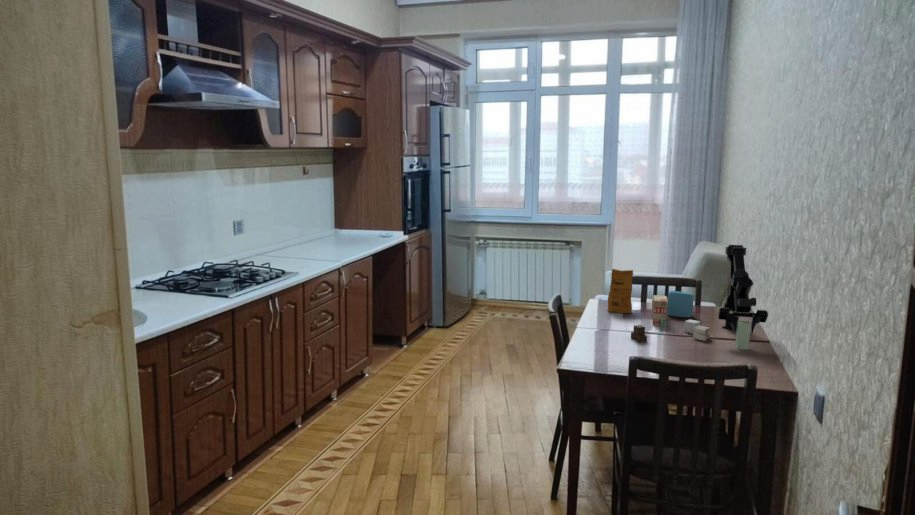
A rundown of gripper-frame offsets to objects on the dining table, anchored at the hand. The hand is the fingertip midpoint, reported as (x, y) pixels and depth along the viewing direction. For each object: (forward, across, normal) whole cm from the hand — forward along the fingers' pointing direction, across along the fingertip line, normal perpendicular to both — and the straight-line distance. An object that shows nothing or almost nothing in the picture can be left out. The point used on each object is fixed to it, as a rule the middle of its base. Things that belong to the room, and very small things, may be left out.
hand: (743, 332), depth 267 cm
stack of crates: (+5, -41, +7) cm, 42 cm away
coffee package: (-32, -52, +43) cm, 74 cm away
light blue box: (-32, -22, +42) cm, 57 cm away
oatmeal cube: (-3, -15, +13) cm, 20 cm away
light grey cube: (-10, -18, +21) cm, 30 cm away
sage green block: (+4, 0, +6) cm, 7 cm away
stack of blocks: (-23, -32, +33) cm, 52 cm away
